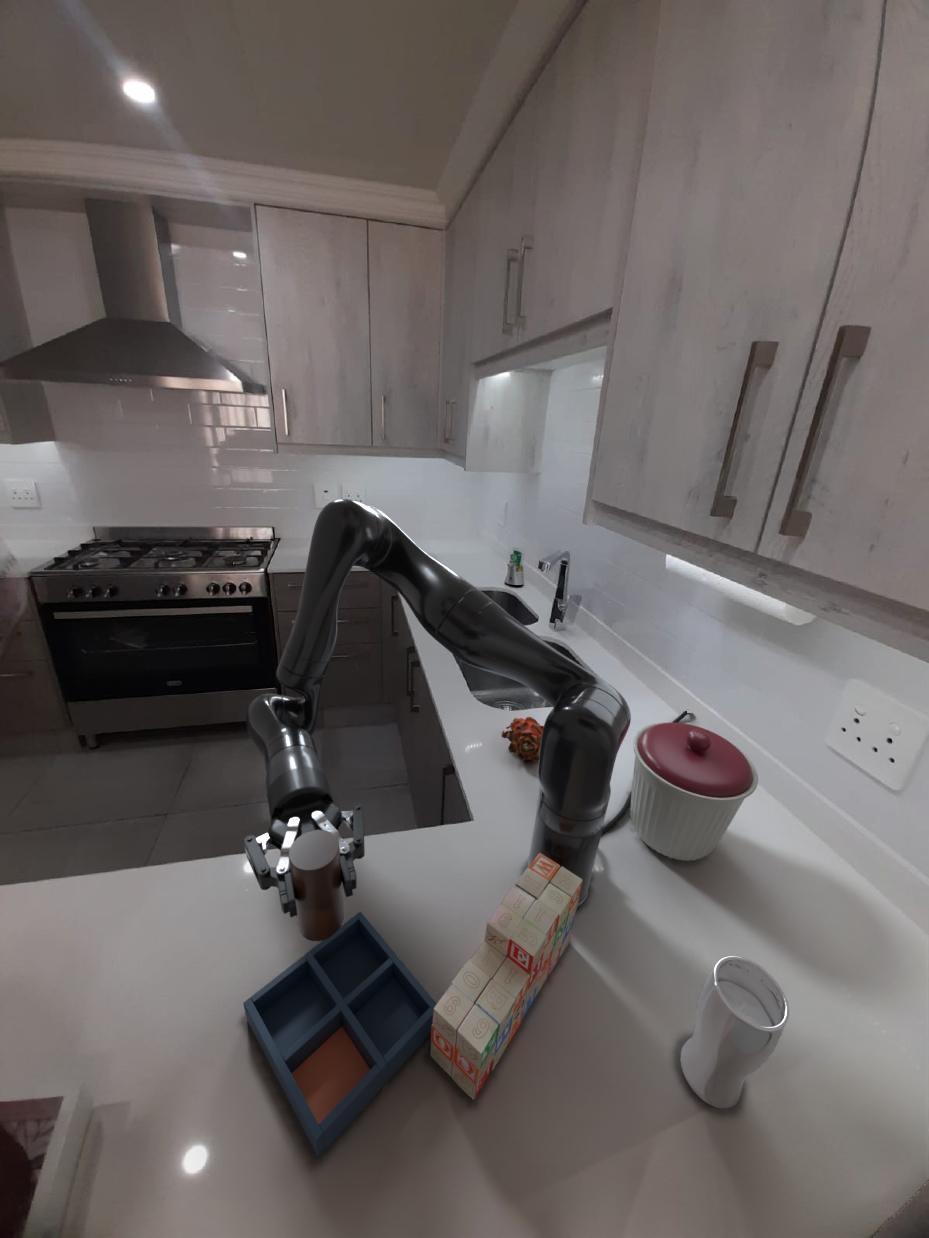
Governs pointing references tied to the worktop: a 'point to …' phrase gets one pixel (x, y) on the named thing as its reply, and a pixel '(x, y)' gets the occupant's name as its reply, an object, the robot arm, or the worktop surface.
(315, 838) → the brown cylinder
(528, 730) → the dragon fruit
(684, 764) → the canister
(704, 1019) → the beer glass
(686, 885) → the worktop surface
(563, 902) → the stack of blocks
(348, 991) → the grid
